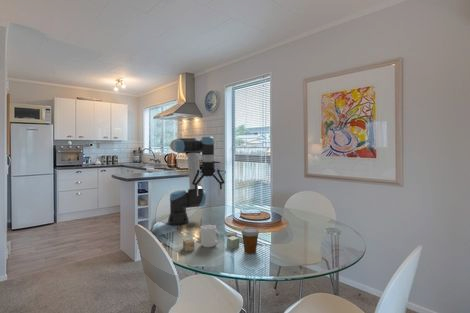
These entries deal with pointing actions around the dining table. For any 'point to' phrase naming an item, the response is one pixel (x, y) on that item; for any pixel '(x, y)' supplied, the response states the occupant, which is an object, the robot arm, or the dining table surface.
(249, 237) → the disposable coffee cup
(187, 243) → the oak cube
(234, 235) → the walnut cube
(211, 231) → the mug
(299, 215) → the dining table surface
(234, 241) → the sage painted cube
